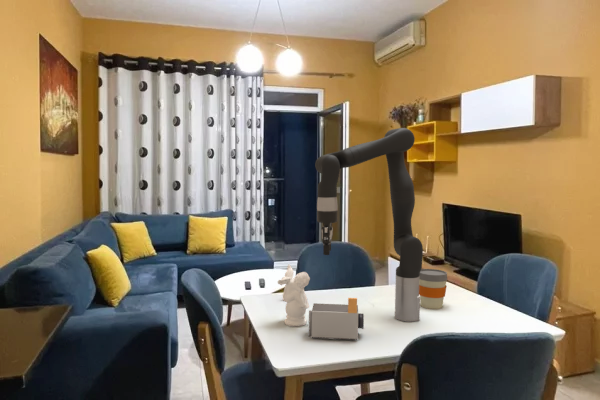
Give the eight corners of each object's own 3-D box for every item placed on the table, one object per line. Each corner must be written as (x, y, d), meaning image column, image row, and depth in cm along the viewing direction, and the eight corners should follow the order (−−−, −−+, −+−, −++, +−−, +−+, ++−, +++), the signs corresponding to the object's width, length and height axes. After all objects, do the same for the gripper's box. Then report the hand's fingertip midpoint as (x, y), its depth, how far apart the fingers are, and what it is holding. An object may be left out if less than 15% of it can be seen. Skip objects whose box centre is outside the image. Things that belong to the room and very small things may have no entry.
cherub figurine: (312, 325, 173) (314, 268, 171) (284, 331, 166) (285, 272, 164) (295, 316, 183) (296, 262, 181) (268, 321, 176) (269, 265, 174)
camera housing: (362, 332, 166) (363, 305, 165) (363, 340, 158) (364, 312, 157) (313, 330, 168) (313, 303, 167) (311, 338, 160) (312, 310, 159)
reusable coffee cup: (414, 308, 195) (415, 273, 194) (418, 300, 206) (419, 267, 205) (445, 311, 190) (446, 276, 189) (447, 303, 202) (448, 270, 201)
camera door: (357, 337, 157) (358, 298, 156) (357, 338, 156) (358, 298, 155) (308, 335, 159) (309, 296, 158) (308, 336, 158) (309, 297, 157)
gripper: (336, 211, 160) (336, 256, 162) (338, 207, 175) (338, 249, 176) (315, 211, 161) (315, 256, 163) (318, 207, 176) (318, 249, 177)
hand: (327, 252), depth 169 cm, fingers open, 8 cm apart
